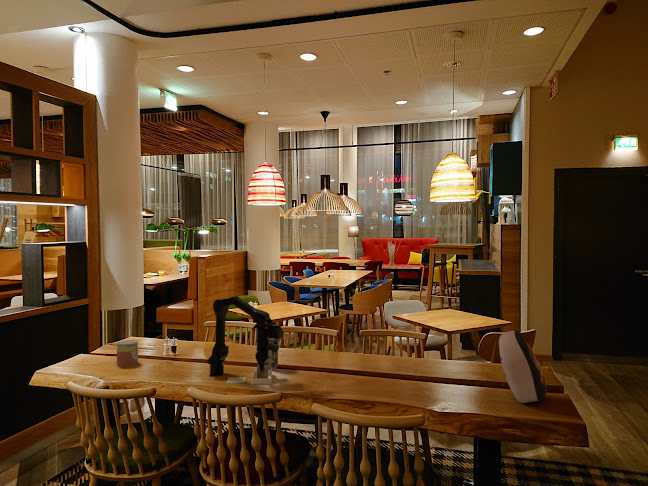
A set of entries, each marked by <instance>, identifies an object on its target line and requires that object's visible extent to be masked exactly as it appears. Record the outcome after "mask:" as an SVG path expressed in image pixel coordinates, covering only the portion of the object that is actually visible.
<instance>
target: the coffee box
mask: <svg viewBox="0 0 648 486" xmlns="http://www.w3.org/2000/svg"><path fill="white" fill-rule="evenodd" d="M268 339H269V342H273V341H277V344H279V339H273V338H269V337H268ZM264 365H268V370H271V368H272V371H273V370H274V369H276V368H278V367H279V351H278V352H277V353H276V352H274V351H272V350H269V353H268V359H267V360H266V361H265V364H264Z"/></svg>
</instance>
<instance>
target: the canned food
mask: <svg viewBox="0 0 648 486" xmlns="http://www.w3.org/2000/svg"><path fill="white" fill-rule="evenodd" d="M138 342H139V341H138V340H135V339H128V340H121V341H118V342H116V365H117V366H121V367H123V366H124V367H125V366H133V365H136V364H138V362H139V361H138V360H139V357H138V356H139V346H138V345H139V343H138Z"/></svg>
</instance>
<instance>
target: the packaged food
mask: <svg viewBox="0 0 648 486" xmlns="http://www.w3.org/2000/svg"><path fill="white" fill-rule="evenodd" d="M498 347H499V348H498V349H499V357H500V362H501V363H500V364H501V367H502V371H503V374H504V377H505V379H506V381H507V384H508V386H509V388H510V390H511V392H512V393H513V395H514V397H515V399H516V400H517V401H518V402H519V403H520V404H526V403H533V402H538V401H541V400H543V399H544V398H546V396H547V393H548V387H547V383H546V380H545V377H544V375H543V371H542V369H541V367H540V364H539V361H538V360H537V358H536V355H535V354H534V351H533V349H532V348H531V345H530V344H529V342H528V341H527V339H526V336H524V334H523V333H522V332H521V331H518V330H508V331H505V332H504V333H502V334H501V335H500V336H499V339H498Z"/></svg>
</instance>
